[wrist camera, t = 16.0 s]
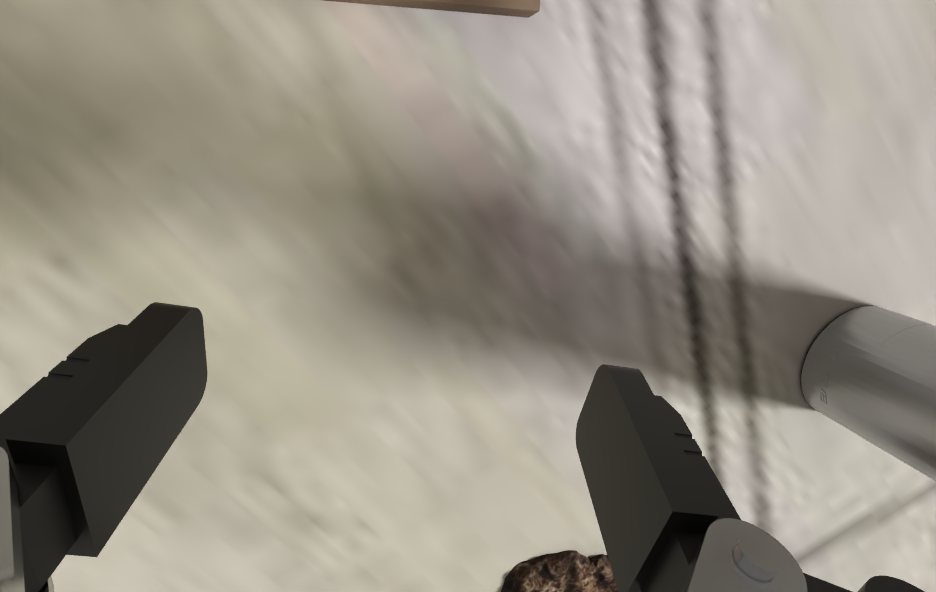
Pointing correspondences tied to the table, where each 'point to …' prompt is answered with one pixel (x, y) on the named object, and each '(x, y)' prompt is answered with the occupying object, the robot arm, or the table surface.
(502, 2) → the ware board
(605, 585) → the stone relief
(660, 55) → the table surface
